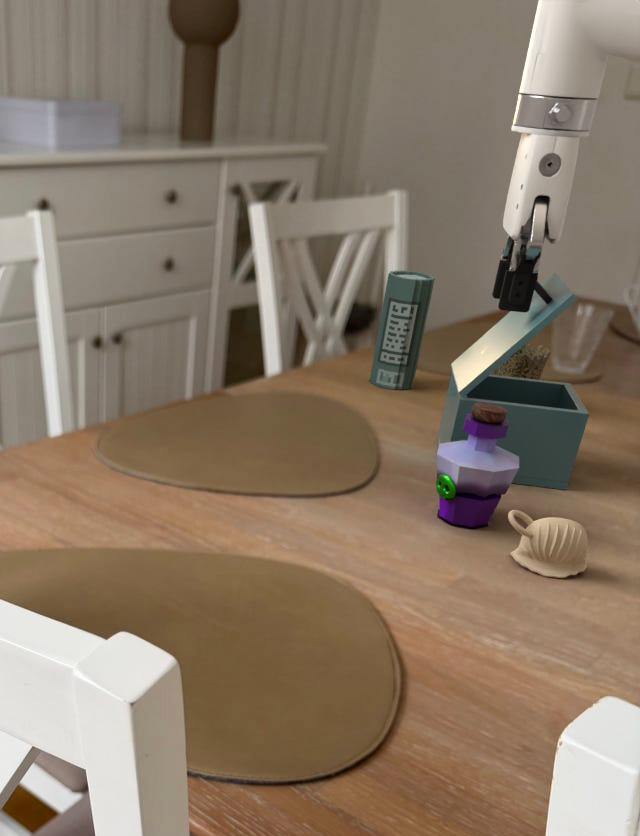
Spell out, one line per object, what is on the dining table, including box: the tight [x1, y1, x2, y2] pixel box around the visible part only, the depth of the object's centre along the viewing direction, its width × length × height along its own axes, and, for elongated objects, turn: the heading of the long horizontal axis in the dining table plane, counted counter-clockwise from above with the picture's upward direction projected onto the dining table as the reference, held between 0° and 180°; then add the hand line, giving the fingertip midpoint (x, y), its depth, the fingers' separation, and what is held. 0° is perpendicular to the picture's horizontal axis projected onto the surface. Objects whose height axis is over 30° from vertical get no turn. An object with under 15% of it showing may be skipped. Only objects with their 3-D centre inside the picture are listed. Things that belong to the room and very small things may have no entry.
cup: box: [490, 342, 551, 380], centre depth 135 cm, size 8×7×8 cm
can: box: [368, 269, 436, 391], centre depth 138 cm, size 6×6×15 cm
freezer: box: [436, 370, 590, 491], centre depth 114 cm, size 14×12×9 cm
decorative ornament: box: [507, 509, 589, 579], centre depth 92 cm, size 4×8×5 cm, turn 75°
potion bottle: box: [435, 403, 519, 530], centre depth 99 cm, size 9×9×12 cm
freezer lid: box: [450, 271, 579, 397], centre depth 108 cm, size 15×12×5 cm
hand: (510, 302), depth 107 cm, fingers closed on freezer lid, 5 cm apart
